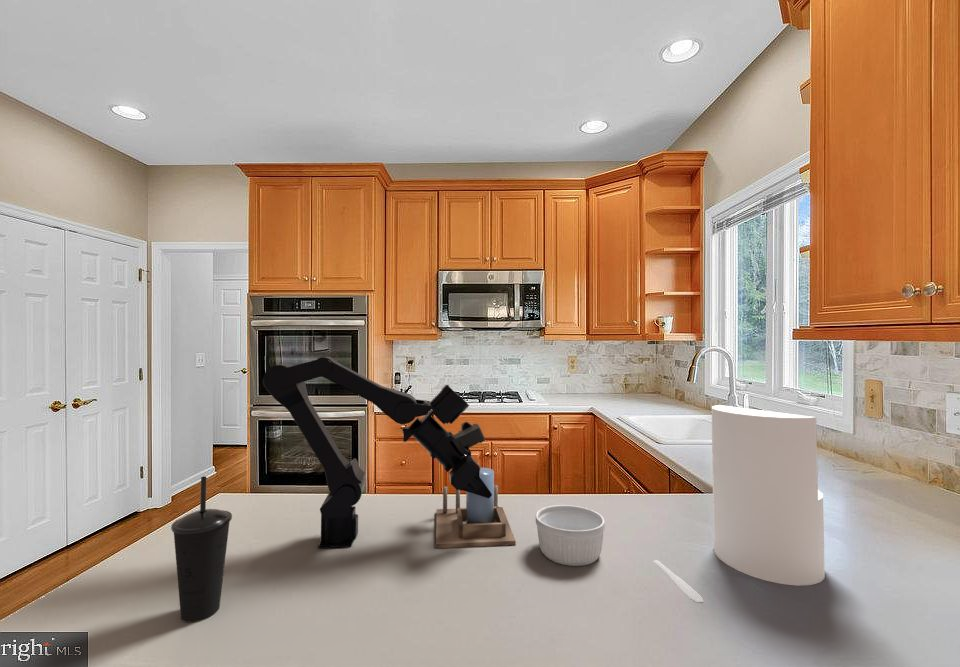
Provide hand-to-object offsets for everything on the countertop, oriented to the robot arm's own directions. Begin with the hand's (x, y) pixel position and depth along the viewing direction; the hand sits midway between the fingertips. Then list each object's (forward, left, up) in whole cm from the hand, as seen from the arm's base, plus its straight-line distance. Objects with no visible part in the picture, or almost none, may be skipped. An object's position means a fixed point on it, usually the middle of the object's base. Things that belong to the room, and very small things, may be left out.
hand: (486, 489), depth 92 cm
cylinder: (+51, -17, -9) cm, 55 cm away
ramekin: (+15, -11, -9) cm, 21 cm away
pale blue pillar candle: (-1, 0, -8) cm, 8 cm away
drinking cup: (-46, -24, -9) cm, 53 cm away
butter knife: (+30, -15, -9) cm, 35 cm away
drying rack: (-3, +2, -9) cm, 10 cm away
